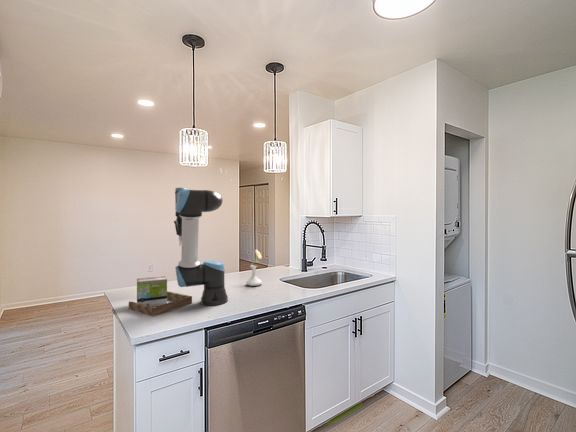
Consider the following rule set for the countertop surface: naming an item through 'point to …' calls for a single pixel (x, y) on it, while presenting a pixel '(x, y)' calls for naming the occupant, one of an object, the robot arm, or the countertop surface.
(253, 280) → the flower in vase
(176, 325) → the countertop surface
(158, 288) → the tea box
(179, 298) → the walnut bay
